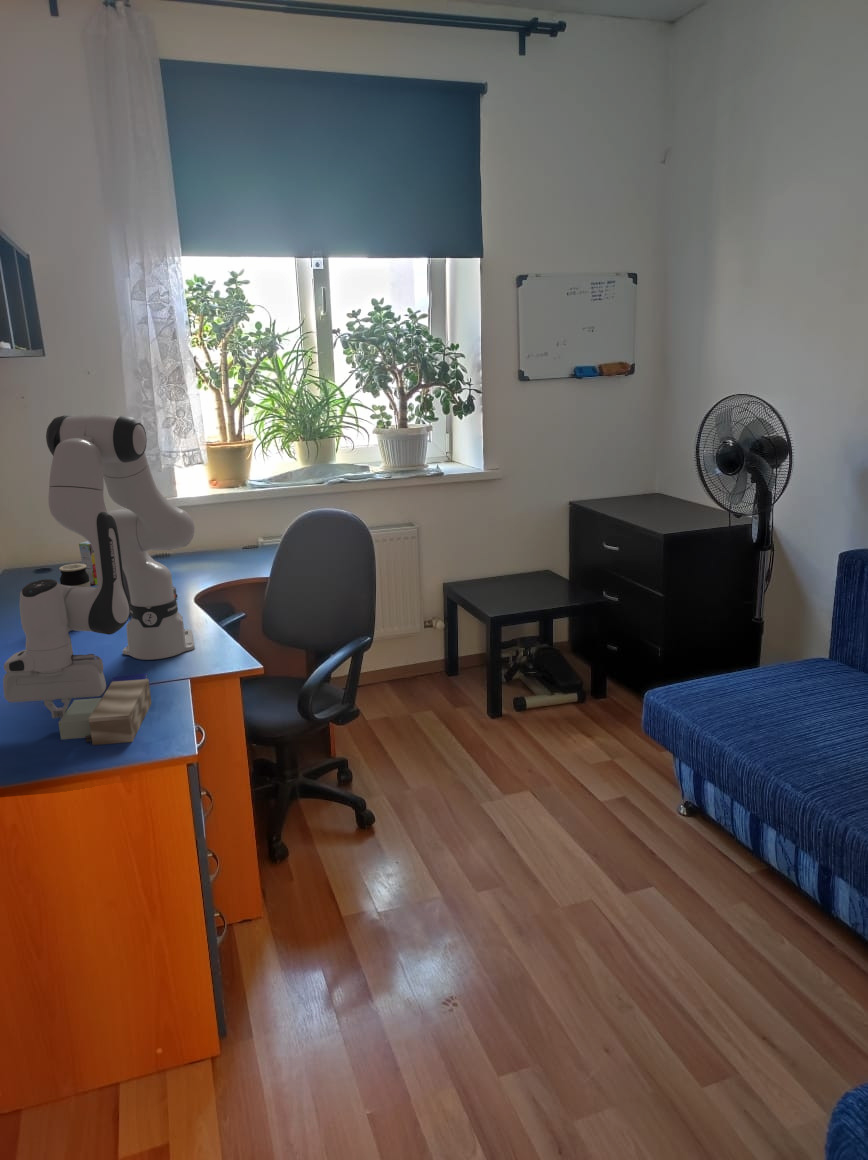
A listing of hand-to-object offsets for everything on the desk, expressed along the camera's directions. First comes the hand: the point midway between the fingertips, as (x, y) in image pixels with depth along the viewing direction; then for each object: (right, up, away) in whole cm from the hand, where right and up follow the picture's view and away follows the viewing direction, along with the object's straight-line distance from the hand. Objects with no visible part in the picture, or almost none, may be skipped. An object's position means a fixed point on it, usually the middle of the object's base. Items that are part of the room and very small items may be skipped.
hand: (60, 716), depth 183 cm
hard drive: (+7, +3, +22) cm, 23 cm away
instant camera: (-14, +21, +89) cm, 93 cm away
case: (+6, -2, +1) cm, 7 cm away
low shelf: (+12, -2, +2) cm, 12 cm away
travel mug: (-25, +16, +71) cm, 77 cm away
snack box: (-36, +30, +124) cm, 132 cm away
